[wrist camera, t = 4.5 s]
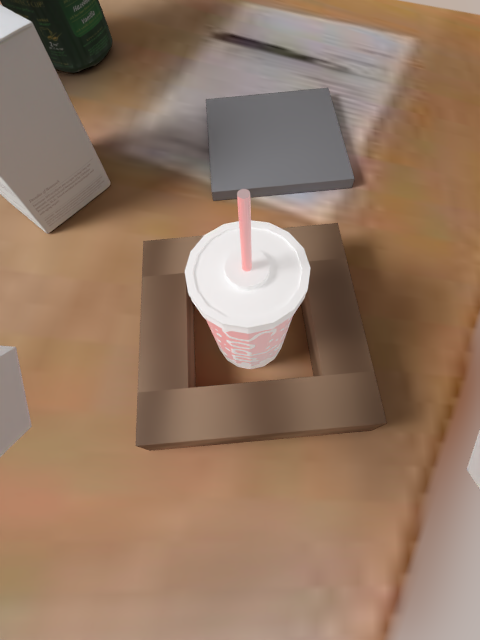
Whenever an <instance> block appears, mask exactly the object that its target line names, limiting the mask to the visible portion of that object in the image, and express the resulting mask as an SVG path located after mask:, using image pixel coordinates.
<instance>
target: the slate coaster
mask: <svg viewBox="0 0 480 640" xmlns="http://www.w3.org/2000/svg"><path fill="white" fill-rule="evenodd" d="M206 109H207V124H208V140H209V155H210V171H211V187H212V196H213V201H215V200H226V199H237V193H238V191H239V190H241V189H247V190H249V191H250V197H258V196H269V195H279V194H290V193H301V192H311V191H322V190H333V189H344V188H352V185H353V182H354V175H353V172H352V168H351V165H350V161H349V158H348V154H347V151H346V148H345V144H344V141H343V137H342V134H341V130H340V127H339V123H338V120H337V116H336V113H335V110H334V106H333V103H332V99H331V96H330V92H329V89H328V88H320V89H310V90H299V91H289V92H278V93H268V94H257V95H247V96H236V97H226V98H215V99H206Z"/></svg>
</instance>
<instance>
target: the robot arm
mask: <svg viewBox="0 0 480 640" xmlns="http://www.w3.org/2000/svg"><path fill="white" fill-rule="evenodd" d="M31 427H32V426H31V421H30V416H29V411H28V406H27V401H26V396H25V391H24V386H23V381H22V375H21V370H20V365H19V360H18V355H17V350H16V347H10V346H0V457H1V456H2V455H3V454H4V453H5V452H6V451H7V450H8V449H9V448H10V447H11V446H12V445H13V444H14V443H15V442H16V441H17V440H18V439H19V438H20V437H21V436H22V435H23V434H24V433H25V432H26V431H28V430H29V429H30V428H31ZM467 471H468V472H469V474H470V475H471V477H472V478H473V480H474V481H475V483H476V484H477V486H478V487H479V489H480V430H479V433H478V436H477V439H476V442H475V445H474V448H473V451H472V455H471V458H470V461H469V464H468V467H467Z"/></svg>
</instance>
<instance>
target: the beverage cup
mask: <svg viewBox="0 0 480 640" xmlns="http://www.w3.org/2000/svg"><path fill="white" fill-rule="evenodd" d="M237 200H238V214H239V221H238V222H233V223H227V224H223V225H221V226H220V227H218V228H216V229H214V230H213V231H211V232H209V233H207V234H206V235H204V236H203V237H202V239H201V240H200V241H199V242H198V243H197V244H196V246H195V247H194V248H193V249H192V250H191V252H190V255H189V258H188V262H187V265H186V269H185V277H186V283H187V289H188V294H189V296H190V297H191V300H192V302H193V303H194V305H195V306H196V307H197V309H198V310H199V312H200V313H201V314H202V316H203V317H204V318H205V319H206V321H207V323H208V325H209V327H210V329H211V331H212V334H213V336H214V338H215V340H216V342H217V344H218V346H219V349H220V351H221V352H222V353H223V355H224V356H225V358H226V359H227V360H228V361H229V362H231V363H233V364H234V365H236V366H237V367H241V368H247V369H254V368H259V367H263V366H265V365H266V364H268V363H269V362H271V361H272V360H274V359H275V357H276V356H277V354H278V353H279V351H280V349H281V347H282V344H283V342H284V339H285V336H286V333H287V331H288V328H289V325H290V322H291V320H292V317H293V315H294V313H295V312H296V310H297V309H298V307H299V306H300V304H301V303H302V301H303V300H304V298H305V294H306V293H307V290H308V284H309V276H310V265H309V262H308V259H307V256H306V253H305V250H304V248H303V247H302V246H301V245H300V244H299V243H298V241H297V240H296V239H295V238H294V237H293V236H292V235H291V234H290V233H289V232H287V231H285V230H283V229H281V228H279V227H277V226H275V225H273V224H271V223H268V222H260V221H251V203H250V191H249V190H247V189H241V190H239V191H238V193H237Z"/></svg>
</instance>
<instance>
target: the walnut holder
mask: <svg viewBox="0 0 480 640" xmlns="http://www.w3.org/2000/svg"><path fill="white" fill-rule="evenodd" d="M281 229H283V230H285V231H287V232H289V233H290V234H291V235H292V236H293V237H294V238H295V239H296V240H297V241H298V243H299V244H300V245H301V246H302V247H303V248H304V250H305V253H306V256H307V259H308V262H309V265H310V276H309V284H308V290H307V293H306V294H305V298H304V300H303V301H302V303H301V306H302V311H303V317H304V323H305V329H306V335H307V340H308V346H309V352H310V358H311V364H312V369H313V375H314V377H303V378H292V379H281V380H270V381H259V382H248V383H237V384H226V385H215V386H204V387H196V381H195V348H194V315H193V302H192V300H191V297H190V296H189V294H188V289H187V283H186V277H185V269H186V265H187V262H188V258H189V255H190V252H191V250H192V249H193V248H194V247H195V246H196V244H197V243H198V242H199V241H200V240H201V239H202V237H203V236H194V237H183V238H172V239H161V240H151V241H143V267H142V294H141V320H140V346H139V372H138V398H137V425H136V446H138V447H141V448H144V449H147V450H150V451H151V450H162V449H173V448H184V447H195V446H206V445H217V444H228V443H239V442H250V441H261V440H272V439H283V438H294V437H306V436H317V435H328V434H339V433H350V432H361V431H371V430H373V429H376V428H378V427H380V426H382V425H384V424H386V423H387V422H386V418H385V414H384V409H383V405H382V401H381V397H380V393H379V389H378V385H377V381H376V377H375V373H374V369H373V365H372V361H371V357H370V353H369V348H368V344H367V340H366V336H365V332H364V328H363V324H362V320H361V316H360V312H359V308H358V304H357V300H356V296H355V292H354V287H353V283H352V279H351V275H350V271H349V267H348V263H347V259H346V255H345V251H344V247H343V243H342V239H341V235H340V231H339V226H338V223H333V224H323V225H312V226H301V227H290V228H281Z"/></svg>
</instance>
